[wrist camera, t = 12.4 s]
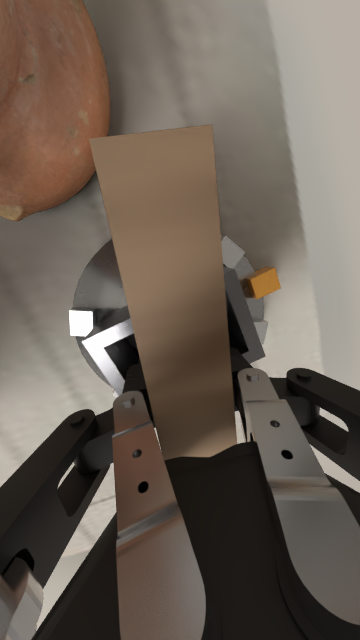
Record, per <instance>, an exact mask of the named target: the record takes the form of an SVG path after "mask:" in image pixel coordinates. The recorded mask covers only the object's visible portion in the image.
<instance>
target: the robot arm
mask: <svg viewBox="0 0 360 640" xmlns="http://www.w3.org/2000/svg"><path fill="white" fill-rule="evenodd" d="M230 360H231V373H232V385H233V398H234V411H238V410H239V412H240V418H241V425H242V430H243V435H244V440H245V443H240V444H236V445H233V446H231V447H229V448H227V449H225V450H223V451H221V452H219V453H217V454H215V455H214V456H211V457H185V456H181V457H176V458H172V459H167V460H164V459H163V456H162V452H161V449H160V446H159V443H158V440H157V437H156V433H155V430H154V428H156V426H155V421H154V417H153V413H152V408H151V404H150V400H149V395H148V391H147V387H146V382H145V378H144V374H143V370H142V365H141V361H140V357H139V362H138V364H135V365H132V366H131V367H130V368H129V369H128V370H127V375H126V379H125V383H124V387H123V392H122V394H121V395H120V396H118V397H117V398H116V399H115V400H114V402H113V408H112V409H110V410H108V411H106V412H103V413H101V414H99V415H96V416H95V414H94V412H93V411H92V410H89V409H85V410H80V411H77V412H75V413H73V414H71V415H70V416H68V417H67V418H66V419H65V420H64V421H63V422H62V423H61V424H60V425H59V426H58V427H57V428H56V429H55V430H54V431H53V433H52V434H51V435H50V436H49V437H48V438H47V439H46V440H45V441H44V442H43V443H42V444H41V445H40V446H39V447H38V448H37V449H36V450H35V451H34V453H33V454H32V455H31V456H30V457H29V458H28V459H27V460H26V461H25V462H24V463H23V464H22V465H21V466H20V467H19V468H18V469H17V470H16V471H15V473H14V474H13V475H12V476H11V477H10V478H9V479H8V480H7V481H6V482H5V483H4V484H3V485H2V486H1V487H0V640H360V493H359V492H357V491H355V490H353V489H351V488H350V487H348V486H346V485H345V484H342V483H341V482H339V481H338V480H336V479H334V478H332V477H331V476H329V475H327V474H325V473H324V471H323V469H322V467H321V465H320V464H319V462H318V460H317V458H316V456H315V454H314V452H313V450H312V448H311V446H310V444H311V445H312V446H313V447H314V448H316V449H317V450H318V451H320V452H321V453H323V454H324V455H325V456H327V457H328V458H329V459H331V460H332V461H333V462H335V463H336V464H337V465H339V466H340V467H341V468H343V469H344V470H345V471H347V472H348V473H350V474H351V475H352V476H353V477H355V478H356V479H358V480H359V481H360V391H359V390H357V389H354V388H352V387H350V386H347V385H345V384H342V383H340V382H338V381H336V380H333V379H331V378H329V377H326V376H324V375H322V374H319V373H317V372H315V371H312V370H309V369H305V368H294V369H291V370H289V371H288V372H287V377H286V378H271V377H268V375H267V373H266V372H264V371H263V370H260V369H257V368H253V367H252V366H251V365H250V364H249V363H248V361H247V360H246V359H245V358H244V357H243V356H242V355H241V353H240V352H239V351H238V350H237V349H235V348H233V347H230ZM320 407H321V408H322V409H324V410H326V411H328V412H330V413H331V414H333V415H335V416H337V417H338V418H340V419H341V420H342V421H344V423H345V424H346V425H347V427H348V430H349V432H347V431H346V430H344V429H342V428H340V427H339V426H337V425H336V424H334V423H332V422H331V421H329V420H327V419H326V418H324V417H322V416H321V415H319V411H320ZM73 462H74V464H75V465H74V467H73V468H72V470H71V471H70V472H69V474H68V475H67V477H66V478H65V479H64V481H63V482H62V484H61V485H60V486H59V488H58V484H59V482H60V480H61V478H62V477H63V475H64V474H65V472H66V471H67V470H68V468H69V467H70V466H71V464H72V463H73ZM113 462H114V477H115V493H116V510H117V512H116V513H115V515H114V516H113V518H112V519H111V521H110V522H109V524H108V525H107V527H106V528H105V530H104V531H103V533H102V534H101V536H100V537H99V539H98V540H97V542H96V543H95V545H94V546H93V548H92V549H91V551H90V552H89V554H88V555H87V557H86V559H85V560H84V561H83V563H82V564H81V566H80V567H79V569H78V570H77V572H76V573H75V575H74V576H73V578H72V579H71V581H70V582H69V584H68V585H67V587H66V588H65V590H64V591H63V593H62V594H61V596H60V597H59V598H58V600H57V601H56V603H55V605H54V606H53V607H52V609H51V610H50V612H49V613H48V615H47V616H46V618H45V619H44V621H43V622H42V624H41V625H40V627H39V628H38V630H37V631H36V628H37V622H38V619H39V616H40V613H41V609H42V605H43V588H44V586H45V585H46V583H47V581H48V579H49V577H50V576H51V574H52V572H53V570H54V568H55V566H56V565H57V563H58V561H59V559H60V557H61V555H62V554H63V552H64V550H65V548H66V546H67V545H68V543H69V541H70V539H71V537H72V535H73V534H74V532H75V530H76V528H77V526H78V524H79V523H80V521H81V519H82V517H83V515H84V514H85V512H86V510H87V508H88V506H89V504H90V503H91V501H92V499H93V497H94V495H95V493H96V492H97V490H98V488H99V486H100V484H101V483H102V481H103V479H104V477H105V475H106V473H107V472H108V470H109V468H110V464H111V463H113ZM57 488H58V489H57Z"/></svg>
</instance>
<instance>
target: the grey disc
mask: <svg viewBox="0 0 360 640" xmlns="http://www.w3.org/2000/svg"><path fill="white" fill-rule="evenodd" d="M221 244H222V257H223V270H224V282H225V295H226V308H227V321H228V334H229V347H233V348H235V349H237V350H238V351H239V352H240V353H241V355H242V356H243V357H244V358H245V359H246V360H247V361H248V363H249V364H250V363H252V362H254V361H256V360H259V359H261V358H263V357H265V353H264V351H263V348H262V345H261V344H263V343H264V339H265V335H266V330H267V326H268V322H266V321H265V320H263V312H264V305H263V296H265V295H268V294H270V293H272V292H274V291H276V290H278V289H280V288H281V287H280V283H279V280H278V276H277V273H276V269H275V268H272V267H263V268H261V269H259V270H257V271H254V269H253V268H252V266H251V264H250V262H249V261H248V260H247V258H246V257H245V256H244V254H245V251H243V250H242V249H241V248H240V247H239V246H237V245H236V244H235V243H234V242H233V241H232V240H230V239H229V238H228V237H227V236H222V235H221ZM69 317H70V334H71V335H73V336H76V339H77V343H78V345H79V348H80V350H81V352H82V354H83V356H84V358H85V359H86V361H87V363H88V364H89V366H90V367H91V368H92V369H93V371H94V372H95V373H96V374H97V375H98V376H99V377H100V378H101V379H102V380H103V381H104V382H106V383H107V384H108V385H110V386H111V387H112V388H113V389H114V391H113V394H112V395H113V396H115V397H118V396H120V395H121V394H122V392H123V387H124V383H125V379H126V375H127V370H128V369H129V368H130V367H131V366H132V365H135V364H138V362H139V352H138V348H137V344H136V339H135V335H134V331H133V327H132V322H131V318H130V314H129V309H128V305H127V301H126V296H125V292H124V288H123V283H122V279H121V275H120V271H119V266H118V262H117V258H116V253H115V249H114V245H113V240H110V241H109V242H108V243H107V244H105V245H104V246H103V247H102V248H101V249H100V250H99V251H98V252H97V253H96V254H95V255H94V256H93V258H92V259H91V261H90V262H89V263H88V265H87V266H86V268H85V270H84V272H83V274H82V276H81V278H80V280H79V282H78V286H77V289H76V292H75V296H74V302H73V308H72V309H71V310H69Z"/></svg>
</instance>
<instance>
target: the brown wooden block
mask: <svg viewBox="0 0 360 640" xmlns="http://www.w3.org/2000/svg"><path fill="white" fill-rule="evenodd" d="M89 141H90V146H91V150H92V154H93V159H94V163H95V167H96V172H97V176H98V180H99V184H100V189H101V193H102V197H103V202H104V206H105V210H106V215H107V219H108V223H109V227H110V232H111V236H112V240H113V245H114V249H115V253H116V258H117V262H118V266H119V271H120V275H121V279H122V283H123V288H124V292H125V296H126V301H127V305H128V309H129V314H130V318H131V322H132V327H133V331H134V335H135V339H136V344H137V348H138V352H139V357H140V361H141V365H142V370H143V374H144V378H145V382H146V387H147V391H148V395H149V400H150V404H151V408H152V413H153V417H154V421H155V426H156V430H157V434H158V438H159V443H160V447H161V451H162V456H163V459H164V460H167V459H172V458H176V457H181V456H185V457H211V456H214V455H215V454H217V453H219V452H221V451H223V450H225V449H227V448H229V447H231V446H233V445H236V444H237V437H236V424H235V411H234V398H233V385H232V373H231V360H230V347H229V334H228V321H227V308H226V295H225V282H224V270H223V257H222V244H221V231H220V218H219V205H218V192H217V180H216V167H215V154H214V141H213V128H212V125H203V126H194V127H186V128H177V129H168V130H159V131H151V132H142V133H133V134H125V135H116V136H107V137H98V138H90V139H89Z"/></svg>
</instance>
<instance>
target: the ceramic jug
mask: <svg viewBox="0 0 360 640" xmlns="http://www.w3.org/2000/svg"><path fill="white" fill-rule="evenodd" d="M109 125H110V90H109V82H108V75H107V70H106V65H105V61H104V56H103V53H102V49H101V46H100V43H99V40H98V37H97V34H96V31H95V28H94V26H93V23H92V21H91V19H90V16H89V14H88V12H87V10H86V8H85V6H84V4H83V2H82V0H0V216H2V217H4V218H6V219H9V220H12V221H20V220H22V219H23V218H25V217H27V216H29V215H31V214H33V213H36V212H39V211H43V210H47V209H49V208H52V207H56V206H58V205H60V204H62V203H64V202H65V201H67V200H69V199H70V198H72V197H73V196H74V195H75V194H77V193H78V192H79V191H80V190H81V189H82V188H83V187H84V186H85V185H86V183H87V182H88V181H89V179H90V178H91V177H92V175H93V174H94V172H95V171H96V167H95V163H94V159H93V154H92V150H91V146H90V141H89V139H90V138H98V137H107V136H108V132H109Z"/></svg>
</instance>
